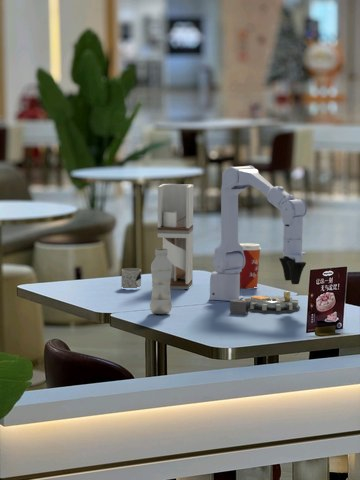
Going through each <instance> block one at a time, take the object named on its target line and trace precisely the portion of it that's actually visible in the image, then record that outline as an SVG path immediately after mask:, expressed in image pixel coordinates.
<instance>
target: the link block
mask: <svg viewBox="0 0 360 480" xmlns="http://www.w3.org/2000/svg"><path fill="white" fill-rule="evenodd" d="M229 305H230V306H229V314H230V315H241V316H246V315H248V314H249V311H248V308H249V301H247V300H245V299H244V300H242V299H240V300H231V301H229Z"/></svg>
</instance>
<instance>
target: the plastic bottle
mask: <svg viewBox="0 0 360 480" xmlns="http://www.w3.org/2000/svg"><path fill="white" fill-rule="evenodd" d="M154 250H155V251H154V255H155V258H154V259H153V260H152V262H151V265H150V272H151V273H150V274H151V282H152V283H151V284H152V285H151V287H152V289H151V296H150V297H151V298H150V302H149V308H150V309H149V310H150V311H151V313H152V314H156V315H160V314H161V315H166V314H170V312H171V311H172V306H173V304H172V303H173V302H172V299H171V289H170V280H171V273H172V263H171V262H170V260H169V259H168V258H167V255H168V250H167V249H164V248H163V247H162V248H161V247H160V248H155V249H154Z"/></svg>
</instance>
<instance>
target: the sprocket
mask: <svg viewBox="0 0 360 480" xmlns="http://www.w3.org/2000/svg"><path fill="white" fill-rule="evenodd" d="M244 300H247V301H249V307H250V308H251V309H262V310H266V311H267V310H276V311H281V310H282V309H287V310H292V308H298V306H299V299H297V298H295V299H294V298H293V297H291V291H288V290H287V291H286V290H285V291H283V296H280V295H275V296H274V295H273V296H271V295H265V294H264V295H254V296H253V295H252V296H249V297H245V298H244Z"/></svg>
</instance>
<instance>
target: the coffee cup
mask: <svg viewBox="0 0 360 480" xmlns="http://www.w3.org/2000/svg"><path fill="white" fill-rule="evenodd" d="M239 244H240V245H241V246H242V247H243V252H244V256H245V266H244V267H243V268H242V272H240V289H242V290H243V289H244V290H248V289H247V288H254V287H257V288H258V281H259V270H260V268H259V267H260V253H261V250H262V247H261V245H260V244H259V243H253V242H252V243H251V242H243V243H239Z"/></svg>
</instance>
